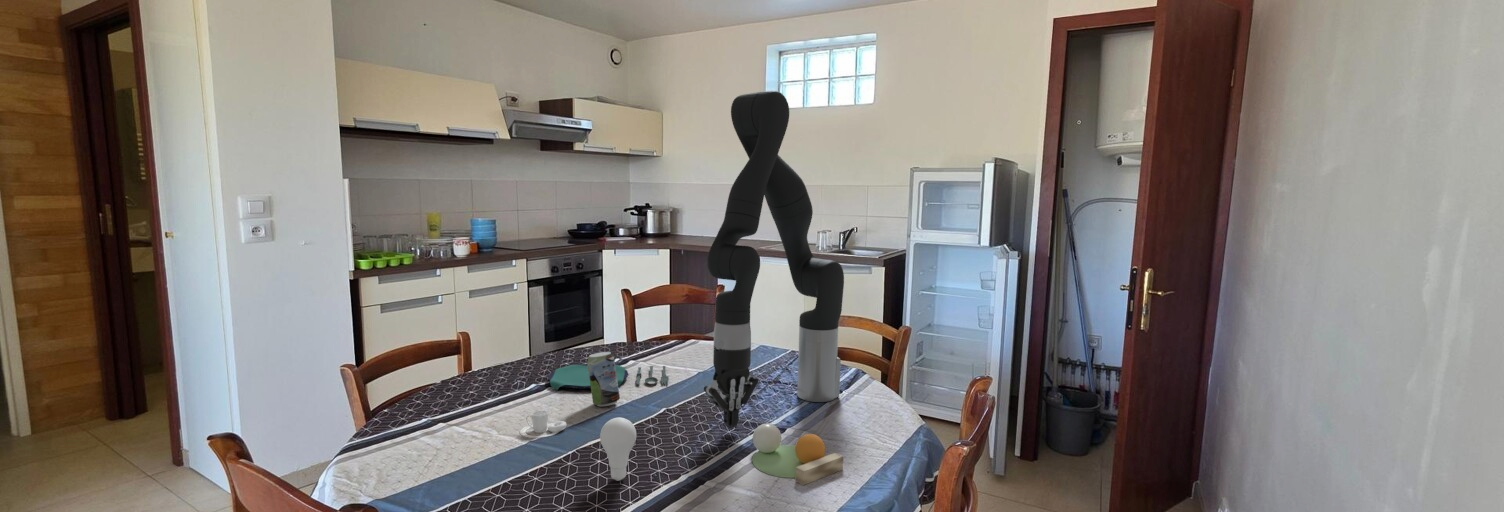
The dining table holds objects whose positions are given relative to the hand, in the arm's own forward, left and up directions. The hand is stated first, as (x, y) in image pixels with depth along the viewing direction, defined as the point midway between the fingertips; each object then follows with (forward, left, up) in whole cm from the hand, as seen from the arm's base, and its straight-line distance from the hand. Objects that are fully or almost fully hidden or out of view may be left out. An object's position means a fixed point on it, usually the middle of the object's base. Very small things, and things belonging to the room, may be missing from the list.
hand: (730, 426), depth 139 cm
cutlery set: (+14, -45, -2) cm, 47 cm away
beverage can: (+20, -27, -2) cm, 33 cm away
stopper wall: (-6, +24, -2) cm, 25 cm away
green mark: (-4, +17, -2) cm, 17 cm away
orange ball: (-7, +19, +1) cm, 21 cm away
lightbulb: (+27, +12, -2) cm, 29 cm away
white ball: (-2, +11, +1) cm, 12 cm away
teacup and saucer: (+35, -14, -2) cm, 37 cm away
